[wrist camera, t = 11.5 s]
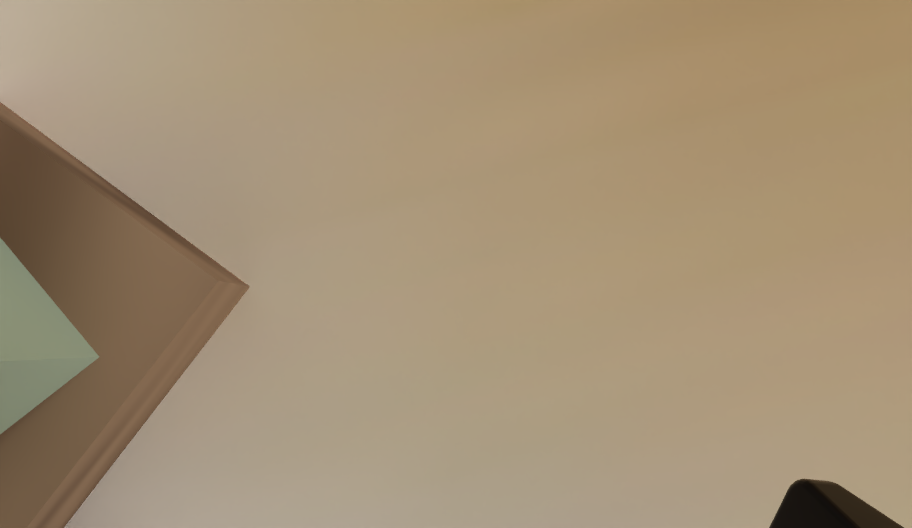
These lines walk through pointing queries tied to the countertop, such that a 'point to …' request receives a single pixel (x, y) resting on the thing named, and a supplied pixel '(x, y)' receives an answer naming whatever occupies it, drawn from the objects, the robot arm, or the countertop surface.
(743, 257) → the countertop surface
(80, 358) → the sage green block
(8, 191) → the walnut block
